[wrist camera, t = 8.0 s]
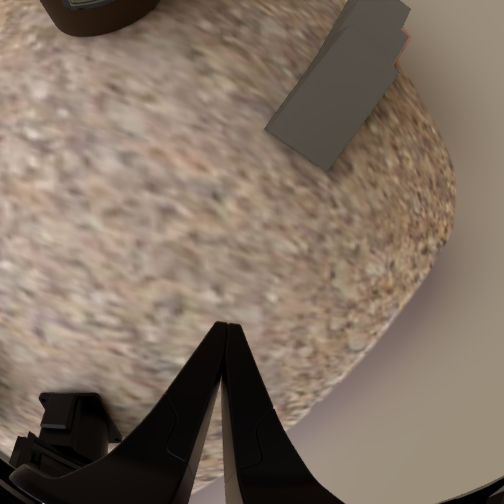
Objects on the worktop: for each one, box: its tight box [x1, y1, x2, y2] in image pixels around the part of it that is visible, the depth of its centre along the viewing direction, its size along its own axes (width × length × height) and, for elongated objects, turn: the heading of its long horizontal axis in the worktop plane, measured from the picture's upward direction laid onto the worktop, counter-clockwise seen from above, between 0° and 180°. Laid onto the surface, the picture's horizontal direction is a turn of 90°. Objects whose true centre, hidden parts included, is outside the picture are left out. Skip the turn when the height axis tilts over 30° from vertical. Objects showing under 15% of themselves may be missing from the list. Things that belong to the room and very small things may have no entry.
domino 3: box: [320, 0, 411, 50], centre depth 15 cm, size 2×5×10 cm
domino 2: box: [304, 0, 409, 75], centre depth 16 cm, size 2×5×10 cm
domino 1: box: [265, 26, 400, 172], centre depth 16 cm, size 2×5×10 cm
